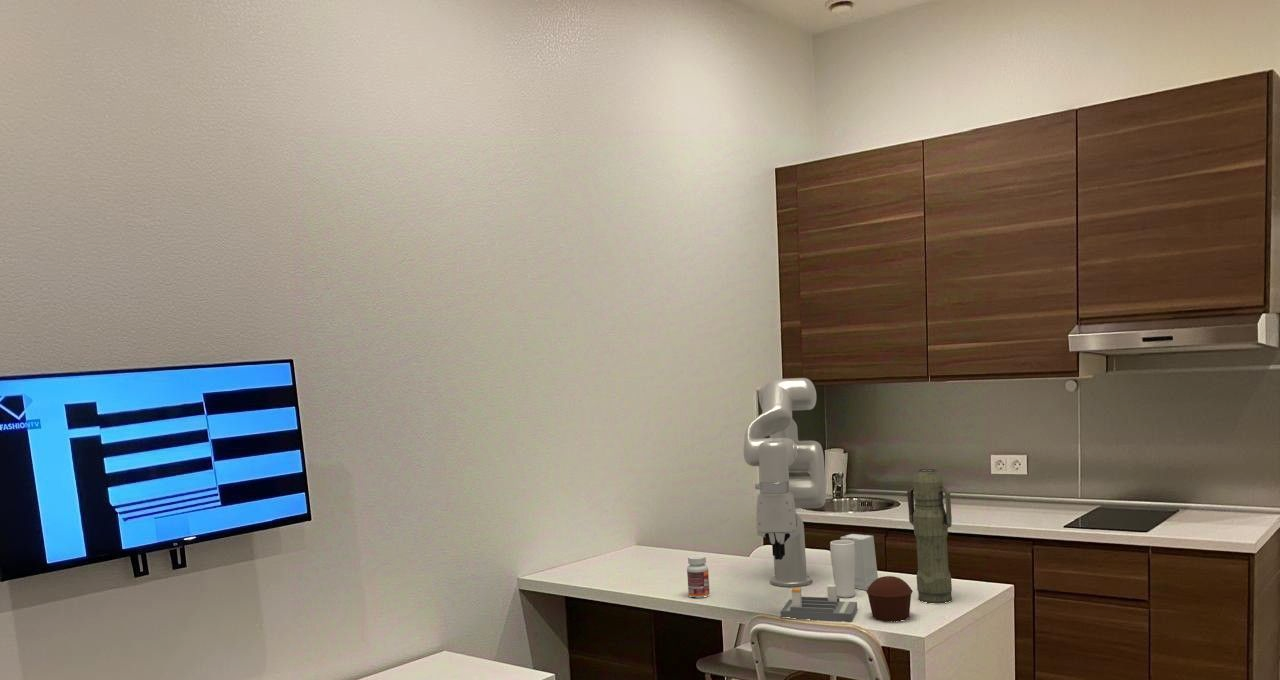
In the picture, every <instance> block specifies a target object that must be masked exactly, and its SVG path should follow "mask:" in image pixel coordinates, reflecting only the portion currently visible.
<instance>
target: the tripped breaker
mask: <svg viewBox="0 0 1280 680" xmlns="http://www.w3.org/2000/svg"><path fill="white" fill-rule="evenodd" d="M790 592H791V600H792V605H793V607H802V597H803V596H802V588H801V587H792V589H791V590H790ZM801 596H802V597H801Z"/></svg>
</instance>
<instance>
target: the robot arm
mask: <svg viewBox="0 0 1280 680" xmlns="http://www.w3.org/2000/svg"><path fill="white" fill-rule="evenodd" d="M758 402H759V405H760V408H761V410H762V412H761V414H759V415H758V416H757V417H756V418H754V419H753V420H752V421H751V422H750V424H749V425H748V426H747V428H746V429H745V433H744V440H743V441H744V442H743V459H744V461H745V463H746V464H747V465H749V466H751V467H758V468H759V479H760V480H759V481H760V482H759V483H756V484H755V485H754V488H755V490H759V492H760V493H758V494H757V499H756V530H757V533H756V535H757V536H759V537H762V538H765V539H766V540H768V541H769V543H770V544H771V549H772V550H771V551H772V556H773V568H774V569H773V570H774V576H771V577H769V583H770V584H771V585H773V584H774V586H778V587H792V588H795V587H803V586H807V585H810V584H812V582H813V578H812V576H810V575H808V573H807V559H806V557H807V556H806V543H805V541H806V540H805V526H804V525H805V524H804V521H803V519H802V518H801V516H800V515H799V514H798V513H797V510H798V509H800V510H801V509H819V508H822V507H824V506H825V504H826V502H827V501H826V500H827V486H826V471H825V456H824V451H823V447H822V444H821V443H820V442H818V441H816V440H799V437H798V436H799V435H798V434H799V433H798V425H797V423H796V421H795V420H794V418H793V411H807V410H808V411H810V410H813V409H814V408H815V406H816V404H817V391H816V387H815V385H814V383H813V381H811V380H810V379H809V378H807V377H797V378H796V377H795V378H776V379H772V380H770V381H768V382H767V383H766V384H765V385H762V386H761V387H760V388H759V389H758ZM767 437H768V438H767ZM790 473H808V474H809V476H790Z"/></svg>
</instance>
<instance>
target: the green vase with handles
mask: <svg viewBox="0 0 1280 680" xmlns="http://www.w3.org/2000/svg"><path fill="white" fill-rule="evenodd" d="M912 484H913V485H912V486H910V487H908V490H907V491H906V495H907V506H908V516H909V518H908V521H909V523H910V524H911V525H912V526H913V535H914V536H915V541H916V555H917V569H918V570H917V573H916V589H917V592H918V601H919V600H920V601H919V602H921V601H923V602H927V603H926V604H929V603H945V602H949V601H951V600H952V601H953V597H952V591H953V589H952V588H953V587H952V584H953V583H952V575H951V572H950V570H949V557H948V541H947V539H948V535H949V528H951V527H952V523H953V522H952V521H953V520H952V516H953V515H952V504H951V503H952V502H951V492H950V491H949V489H948V488H947V487H944V486H943V480H942V476H941V474H940V471H939V470H937V469H934V468H921V469H918V470H917V471H915V474H914V476H913V482H912ZM944 495H945V496H944ZM944 497H945V498H944ZM944 499H945V504H944ZM914 500H915V501H914ZM952 601H951V602H952ZM923 602H922V603H923ZM949 603H950V602H949ZM945 604H946V603H945Z"/></svg>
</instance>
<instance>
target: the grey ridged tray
mask: <svg viewBox="0 0 1280 680" xmlns="http://www.w3.org/2000/svg"><path fill="white" fill-rule="evenodd" d="M826 589H827V596H802V595H801V597H802V607H793V605H792V599H788V601H787V602H786V603H785V604H784V606H783V607H782V609H781V610H780V618H781V617H790V618H796V619H810V620H809V621H818V620H819V621H823V622H841V621H845V622H844V623H852V622H853V620H854V618H855V616H856V614H857V611H858V602H857V601H846V600H845V601H843V600H842V601H840V597H838V596H837V591H836V585H835V584H829V583H828V584H827V586H826Z"/></svg>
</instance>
